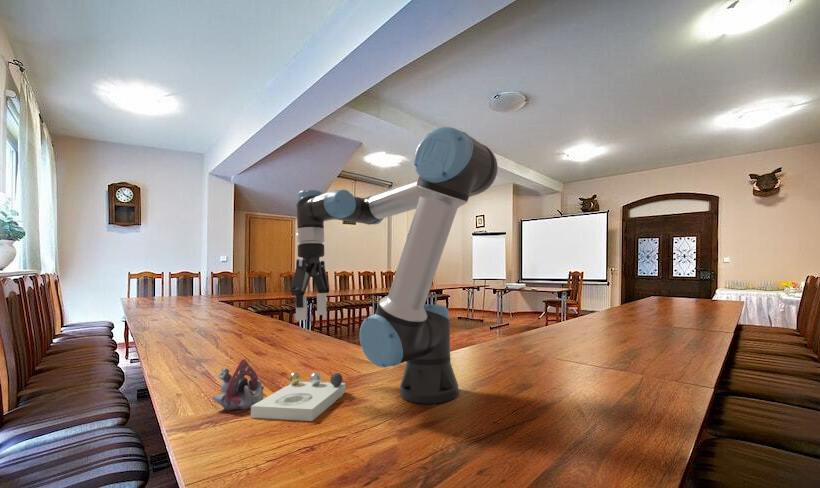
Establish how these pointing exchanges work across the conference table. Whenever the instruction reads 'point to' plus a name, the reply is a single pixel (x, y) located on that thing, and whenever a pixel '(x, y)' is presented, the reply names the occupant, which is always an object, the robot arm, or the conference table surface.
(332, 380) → the dark grey ball
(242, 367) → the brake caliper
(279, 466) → the conference table surface
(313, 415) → the board
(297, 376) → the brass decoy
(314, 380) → the steel ball
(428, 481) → the conference table surface
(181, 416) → the conference table surface
